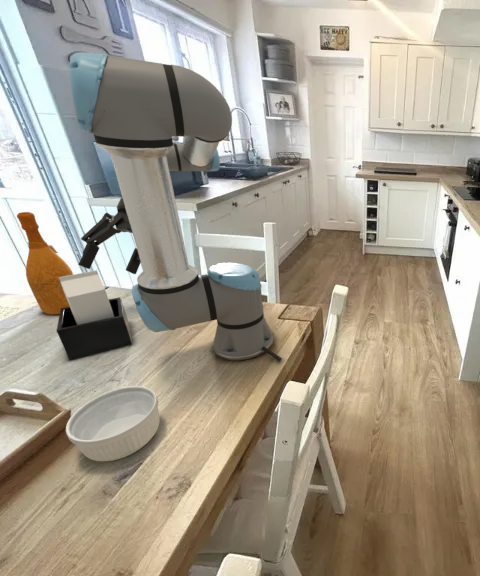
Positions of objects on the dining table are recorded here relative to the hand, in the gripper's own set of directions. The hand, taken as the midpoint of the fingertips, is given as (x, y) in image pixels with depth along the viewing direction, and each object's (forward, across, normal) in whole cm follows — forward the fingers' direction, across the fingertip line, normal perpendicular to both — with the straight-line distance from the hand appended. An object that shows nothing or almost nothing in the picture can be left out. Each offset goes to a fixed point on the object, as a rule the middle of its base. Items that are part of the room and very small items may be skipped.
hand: (107, 269), depth 87 cm
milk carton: (+18, 0, -7) cm, 19 cm away
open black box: (+18, 0, -7) cm, 19 cm away
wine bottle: (+9, +25, -16) cm, 31 cm away
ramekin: (+37, -30, +11) cm, 49 cm away
